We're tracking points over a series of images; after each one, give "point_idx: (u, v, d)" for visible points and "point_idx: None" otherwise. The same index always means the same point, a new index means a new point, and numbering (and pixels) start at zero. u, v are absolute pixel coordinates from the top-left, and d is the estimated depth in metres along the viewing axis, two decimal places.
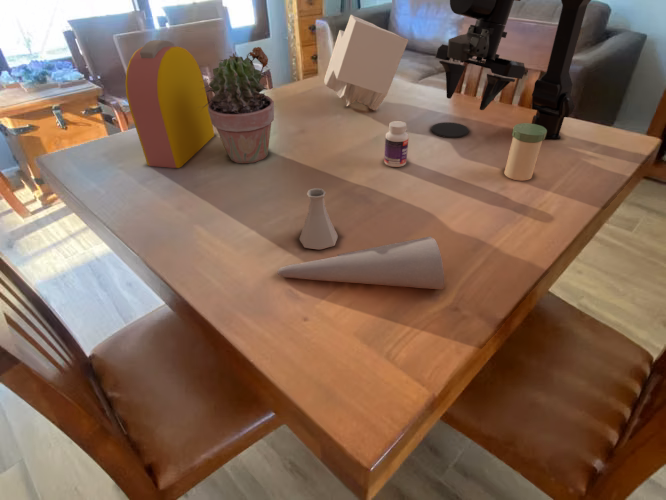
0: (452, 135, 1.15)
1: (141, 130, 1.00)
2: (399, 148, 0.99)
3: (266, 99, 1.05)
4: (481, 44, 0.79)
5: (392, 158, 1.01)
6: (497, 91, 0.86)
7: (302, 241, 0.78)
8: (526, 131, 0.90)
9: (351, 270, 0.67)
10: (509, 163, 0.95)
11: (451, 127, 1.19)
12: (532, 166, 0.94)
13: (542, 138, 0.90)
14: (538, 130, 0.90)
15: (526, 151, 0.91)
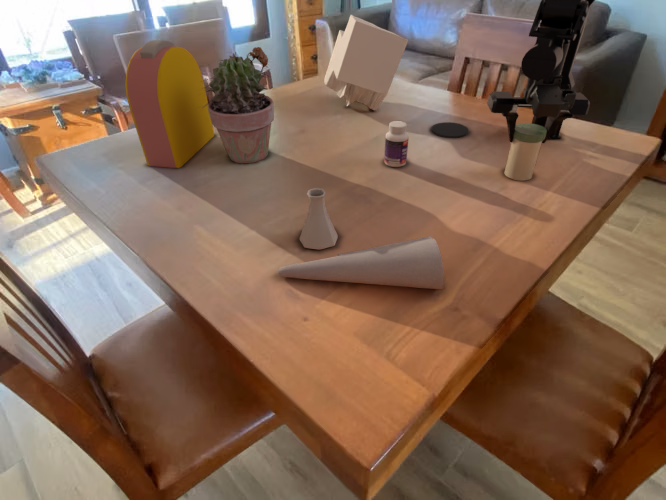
0: (452, 135, 1.15)
1: (141, 130, 1.00)
2: (399, 148, 0.99)
3: (266, 99, 1.05)
4: None
5: (392, 158, 1.01)
6: None
7: (302, 241, 0.78)
8: (526, 131, 0.90)
9: (351, 270, 0.67)
10: (509, 163, 0.95)
11: (451, 127, 1.19)
12: (532, 166, 0.94)
13: (542, 138, 0.90)
14: (538, 130, 0.90)
15: (526, 151, 0.91)
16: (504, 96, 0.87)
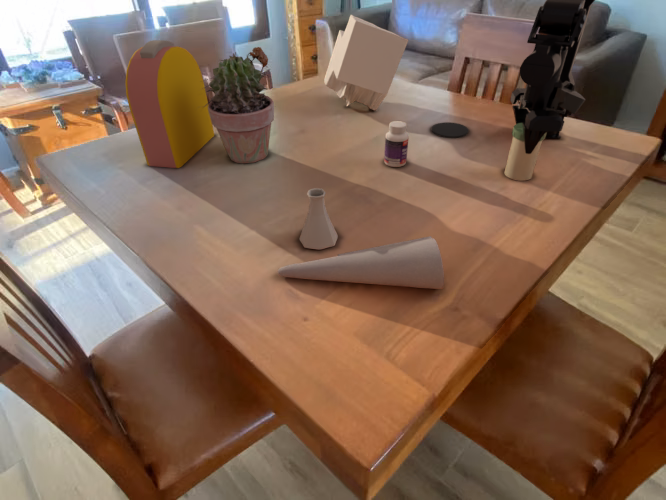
0: (452, 135, 1.15)
1: (141, 130, 1.00)
2: (399, 148, 0.99)
3: (266, 99, 1.05)
4: None
5: (392, 158, 1.01)
6: None
7: (302, 241, 0.78)
8: None
9: (351, 270, 0.67)
10: (509, 163, 0.95)
11: (451, 127, 1.19)
12: (532, 166, 0.94)
13: None
14: None
15: None
16: (551, 113, 0.82)
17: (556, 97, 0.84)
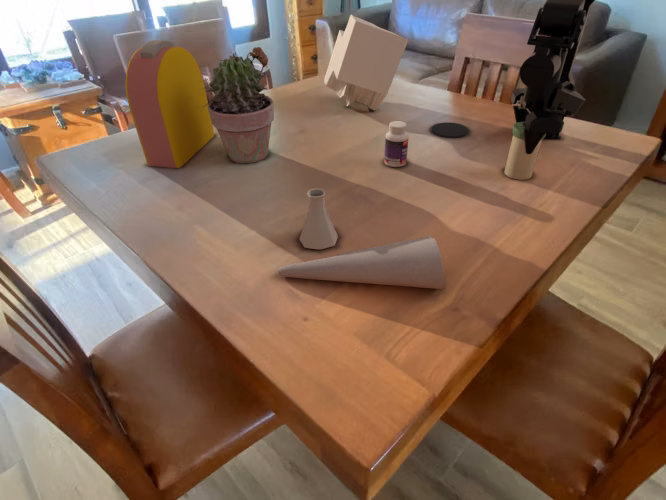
0: (452, 135, 1.15)
1: (141, 130, 1.00)
2: (399, 148, 0.99)
3: (266, 99, 1.05)
4: None
5: (392, 158, 1.01)
6: None
7: (302, 241, 0.78)
8: None
9: (351, 269, 0.67)
10: (510, 163, 0.96)
11: (451, 127, 1.19)
12: (532, 165, 0.94)
13: None
14: (522, 125, 0.92)
15: None
16: (551, 114, 0.83)
17: (556, 98, 0.84)
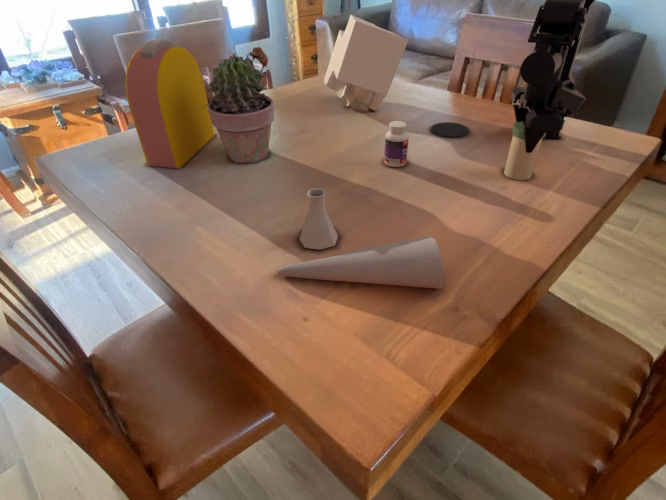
0: (452, 135, 1.15)
1: (141, 130, 1.00)
2: (399, 148, 0.99)
3: (266, 99, 1.05)
4: None
5: (392, 158, 1.01)
6: None
7: (302, 241, 0.78)
8: (521, 124, 0.92)
9: (351, 269, 0.67)
10: (509, 163, 0.95)
11: (451, 127, 1.19)
12: (532, 165, 0.94)
13: (518, 135, 0.90)
14: None
15: None
16: (551, 112, 0.82)
17: (556, 96, 0.84)
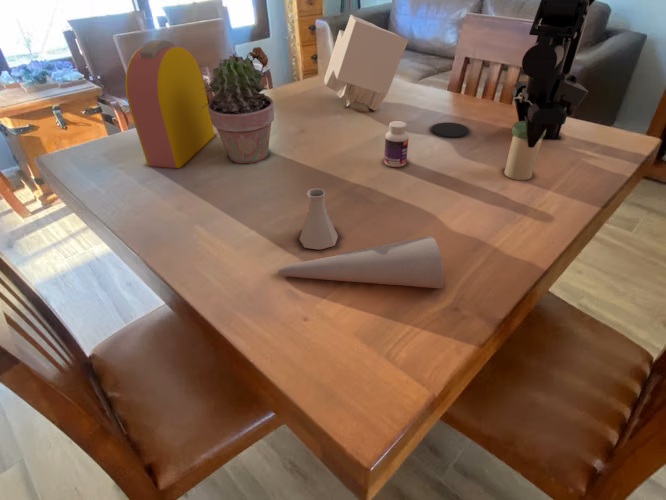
0: (452, 135, 1.15)
1: (141, 130, 1.00)
2: (399, 148, 0.99)
3: (266, 99, 1.05)
4: None
5: (392, 158, 1.01)
6: None
7: (302, 241, 0.78)
8: (525, 129, 0.90)
9: (351, 269, 0.67)
10: (510, 163, 0.95)
11: (451, 127, 1.19)
12: (533, 165, 0.94)
13: (541, 136, 0.89)
14: None
15: (527, 151, 0.91)
16: (553, 105, 0.81)
17: (559, 89, 0.83)
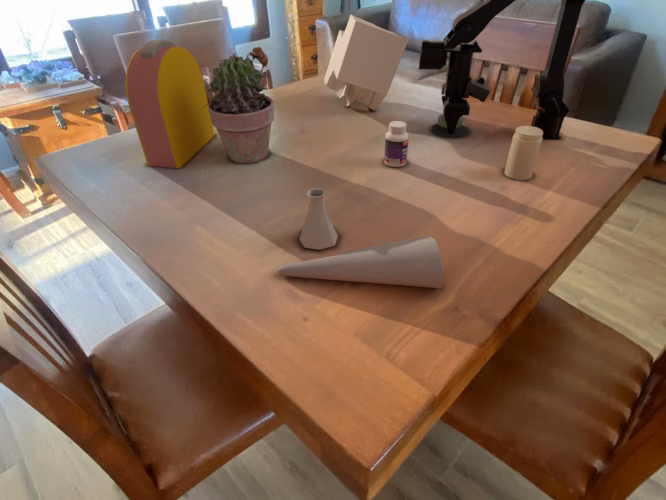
0: (452, 135, 1.15)
1: (141, 130, 1.00)
2: (399, 148, 0.99)
3: (266, 99, 1.05)
4: None
5: (392, 158, 1.01)
6: None
7: (302, 241, 0.78)
8: None
9: (351, 269, 0.67)
10: (510, 163, 0.95)
11: None
12: (533, 165, 0.94)
13: (458, 125, 1.15)
14: None
15: (527, 151, 0.92)
16: (461, 101, 1.07)
17: (467, 89, 1.09)
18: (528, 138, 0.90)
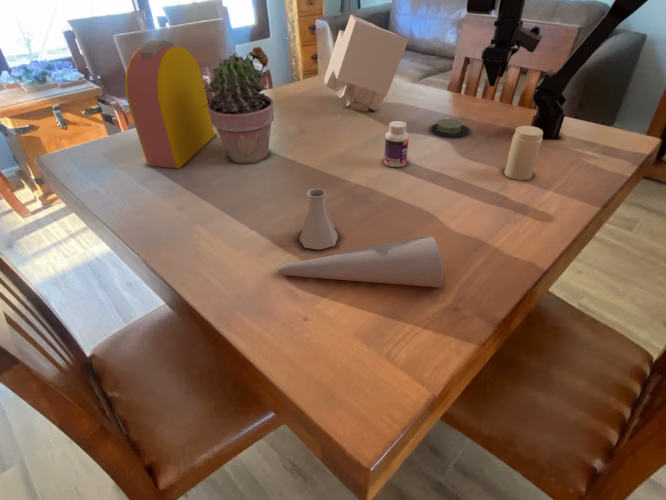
0: (452, 135, 1.15)
1: (141, 130, 1.00)
2: (399, 148, 0.99)
3: (266, 99, 1.05)
4: None
5: (392, 158, 1.01)
6: None
7: (302, 241, 0.78)
8: (445, 125, 1.17)
9: (351, 268, 0.67)
10: (510, 163, 0.95)
11: None
12: (533, 165, 0.94)
13: (457, 130, 1.16)
14: (455, 124, 1.17)
15: (527, 151, 0.92)
16: (501, 46, 1.03)
17: (513, 36, 1.04)
18: (528, 138, 0.90)
